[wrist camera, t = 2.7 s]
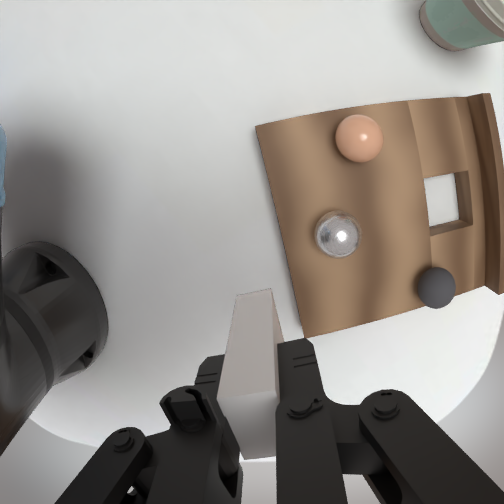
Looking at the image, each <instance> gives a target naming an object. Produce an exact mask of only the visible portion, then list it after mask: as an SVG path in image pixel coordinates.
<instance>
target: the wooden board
mask: <svg viewBox="0 0 504 504" xmlns="http://www.w3.org/2000/svg"><path fill="white" fill-rule="evenodd" d="M357 114H360V115H365V116H368V117H370V118H372V119H373V120H374V121H376V122H377V124H378V125H379V126H380V128H381V130H382V132H383V137H384V143H383V147H382V150H381V152H380V153H379V155H378V156H377V157H375V158H374V159H373V160H371V161H368V162H363V163H359V162H354V161H351V160H349V159H347V158H346V157H345V156H343V154H342V153H341V152H340V151H339V149H338V147H337V144H336V140H335V135H336V130H337V127H338V125H339V124H340V123H341V121H342V120H344V119H345V118H347V117H348V116H351V115H357ZM255 128H256V132H257V136H258V140H259V144H260V148H261V152H262V156H263V159H264V163H265V168H266V172H267V176H268V180H269V184H270V188H271V192H272V196H273V200H274V204H275V209H276V213H277V217H278V221H279V226H280V230H281V234H282V239H283V243H284V247H285V252H286V256H287V261H288V265H289V269H290V274H291V278H292V283H293V288H294V292H295V297H296V301H297V306H298V311H299V316H300V320H301V325H302V330H303V334H304V338H310V337H314V336H318V335H323V334H327V333H331V332H335V331H339V330H343V329H347V328H351V327H355V326H358V325H362V324H366V323H370V322H373V321H377V320H380V319H384V318H387V317H391V316H394V315H398V314H401V313H404V312H408V311H411V310H414V309H417V308H421V307H424V306H426V305H425V304H424V303H423V302H422V301H421V299H420V297H419V295H418V282H419V280H420V278H421V276H422V275H423V273H424V272H426V271H427V270H428V269H431V268H434V267H441V268H444V269H446V270H448V271H449V272H450V273H451V274H452V276H453V278H454V280H455V284H456V291H455V295H454V296H457V295H460V294H462V293H465V292H468V291H471V290H474V289H476V288H479V287H482V286H484V285H485V286H486V287H488V288H489V289H491V290H492V291H493V292H495V293H496V294H498V295H500V294H502V293H504V166H503V158H502V151H501V145H500V138H499V133H498V127H497V122H496V117H495V112H494V108H493V103H492V99H491V95H490V93H482V94H477V95H473V96H468V97H450V98H433V99H420V100H408V101H398V102H389V103H381V104H373V105H365V106H358V107H351V108H345V109H338V110H332V111H326V112H321V113H315V114H310V115H304V116H299V117H294V118H289V119H285V120H280V121H275V122H271V123H266V124H262V125H258V126H255ZM450 173H454V174H455V181H456V189H457V199H458V209H459V220H456V221H452V222H448V223H444V224H440V225H436V226H432V227H429V219H428V210H427V202H426V194H425V187H424V180H423V178H428V177H434V176H439V175H444V174H450ZM337 210H340V211H345V212H347V213H350V214H351V215H352V216H354V217H355V218H356V219H357V221H358V222H359V224H360V227H361V230H362V239H361V243H360V245H359V247H358V249H357V250H356V251H355V252H354V253H353V254H352V255H350V256H348V257H346V258H342V259H335V258H331V257H328V256H326V255H325V254H323V253H322V252H321V251H320V249H319V248H318V246H317V244H316V242H315V237H314V233H315V227H316V225H317V223H318V221H319V220H320V218H321V217H322V216H324V215H325V214H326V213H329V212H331V211H337Z"/></svg>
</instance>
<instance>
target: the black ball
mask: <svg viewBox="0 0 504 504" xmlns="http://www.w3.org/2000/svg"><path fill="white" fill-rule="evenodd" d="M455 291H456V284H455V280H454V278H453V276H452V274H451V273H450V272H449V271H448V270H446V269H444V268H441V267H434V268H431V269H428V270H427V271H426V272H424V273H423V275H422V276H421V278H420V280H419V282H418V295H419V297H420V299H421V301H422V302H423V303H424V304H425V305H426V306H428V307H430V308H434V309H438V308H442V307H444V306H446V305H448V304H449V303H450V302H451V300H452V299H453V297H454V295H455Z"/></svg>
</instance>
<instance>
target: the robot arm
mask: <svg viewBox="0 0 504 504" xmlns="http://www.w3.org/2000/svg"><path fill="white" fill-rule="evenodd" d="M6 149H7V140H6V134H5V131H4V129H3V127H2V126H1V124H0V456H1V455H2V454H3V452H4V451H5V449H6V448H7V446H8V445H9V443H10V442H11V441H12V439H13V438H14V437H15V435H16V434H17V432H18V431H19V430H20V428H21V427H22V425H23V424H24V423H25V421H26V420H27V419H28V417H29V416H30V415H31V413H32V412H33V411H34V409H35V408H36V407H37V405H38V404H39V403H40V402H41V400H42V399H43V398H44V396H45V395H46V394H47V392H48V391H49V390H50V389H51V388H52V386H54V385H56V384H58V383H60V382H62V381H64V380H66V379H68V378H70V377H72V376H74V375H76V374H78V373H80V372H82V371H84V370H85V369H87V368H88V367H89V366H90V365H91V364H92V363H93V362H94V361H95V359H96V358H97V357H98V355H99V354H100V353H101V351H102V349H103V348H104V345H105V342H106V339H107V332H108V322H107V315H106V310H105V306H104V303H103V300H102V298H101V295H100V293H99V291H98V289H97V287H96V285H95V283H94V282H93V280H92V278H91V277H90V275H89V274H88V273H87V271H86V270H85V269H84V268H83V267H82V265H81V264H80V263H79V262H78V261H77V260H76V259H75V258H73V257H72V256H71V255H70V254H69V253H67V252H66V251H64V250H63V249H61V248H59V247H57V246H55V245H52V244H49V243H45V242H31V243H28V244H25V245H23V246H21V247H19V248H16V249H14V250H13V251H11V252H10V253H8V254H7V255H6V256H5V257H4V258H3V259H2V257H1V232H2V207H3V206H4V204H5V197H6V196H5V190H4V188H3V185H4V170H5V158H6ZM159 404H160V406H161V408H162V409H163V411H164V413H165V415H166V417H167V418H168V420H169V422H170V424H171V426H170V429H169V430H167V431H164V432H161V433H157V434H154V435H150V436H146V437H145V435H144V434H143V433H142V431H141V430H139V429H137V428H135V427H126V428H122V429H119V430H117V431H115V432H113V433H112V434H111V435H110V436H109V437H108V438H107V439H106V440H105V441H104V442H103V444H102V445H101V446H100V447H99V449H98V450H97V451H96V452H95V454H94V455H93V456H92V458H91V459H90V460H89V461H88V462H87V464H86V465H85V466H84V467H83V469H82V470H81V471H80V472H79V474H78V475H77V476H76V478H75V479H74V480H73V481H72V482H71V484H70V485H69V486H68V487H67V489H66V490H65V491H64V493H63V494H62V495H61V496H60V498H59V499H58V500H57V501H56V502H55V504H241V497H242V483H243V471H242V467H241V465H240V463H239V454H240V452H241V454H242V456H243V458H244V460H247V459H257V458H265V457H273V456H276V477H277V478H276V479H277V504H348V502H347V496H346V491H345V486H344V481H343V475H342V474H359V475H361V474H362V475H363V477H364V478H365V480H366V481H367V483H368V485H369V486H370V488H371V489H372V491H373V492H374V494H375V495H376V497H377V499H378V500H379V502H380V503H381V504H504V492H503V491H502V490H501V489H500V488H499V487H498V486H497V485H496V484H495V483H494V482H493V481H492V479H491V478H490V477H489V476H488V475H487V474H486V473H484V472H483V470H482V469H481V468H480V467H479V466H478V465H477V464H476V463H475V462H474V461H473V460H472V459H471V458H470V457H469V456H468V455H467V454H466V453H465V452H464V451H463V450H462V449H461V448H460V447H459V446H458V445H457V444H456V443H455V442H454V441H453V440H452V439H451V438H450V437H449V436H448V435H447V434H446V433H445V432H444V431H443V430H442V429H441V428H440V427H439V426H438V425H437V424H436V423H435V422H434V421H433V420H432V419H431V418H430V417H429V416H428V415H427V414H426V413H425V412H424V411H423V410H422V409H421V408H420V407H419V406H418V405H417V404H416V403H415V402H414V401H413V400H412V399H411V398H410V397H409V396H408V395H406V394H405V393H403V392H402V391H398V390H393V389H389V390H380V391H377V392H374V393H372V394H370V395H369V396H367V397H366V398H365V399H364V400H363V401H362V403H361V404H360V405H342V404H338V403H335V402H333V401H332V400H330V399H329V398H328V397H327V396H326V395H325V392H324V389H323V385H322V381H321V376H320V372H319V368H318V363H317V359H316V355H315V351H314V346H313V344H312V343H311V342H310V341H308V340H307V339H306V338H302V339H297V340H293V341H288V342H284V339H283V335H282V331H281V327H280V323H279V319H278V314H277V310H276V306H275V302H274V298H273V294H272V290H271V288H270V289H265V290H261V291H256V292H251V293H247V294H242V295H237V297H236V302H235V307H234V312H233V317H232V322H231V327H230V332H229V338H228V343H227V348H226V353H225V354H223V355H217V356H211V357H207V358H206V359H205V360H204V362H203V363H202V364H201V365H200V366H199V370H198V373H197V377H196V380H195V385H194V386H183V387H179V388H176V389H174V390H172V391H170V392H169V393H168V394H166V395H165V396H164V397H163V398H162V400H161V401H160V403H159ZM131 486H132V487H133V488H134V489H133V491H132V492H131V493H127V492H128V490H129V488H130V487H131Z"/></svg>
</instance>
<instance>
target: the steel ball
mask: <svg viewBox="0 0 504 504" xmlns="http://www.w3.org/2000/svg"><path fill="white" fill-rule="evenodd" d="M314 237H315V242H316V244H317V246H318V248H319V249H320V251H321V252H322V253H323V254H325V255H326V256H328V257H331V258H335V259H342V258H346V257H348V256H350V255H352V254H353V253H354V252H355V251H356V250H357V249H358V247H359V245H360V243H361V239H362V230H361V227H360V224H359V222H358V221H357V219H356V218H355V217H354V216H352V215H351V214H350V213H347V212H345V211H340V210H337V211H331V212H329V213H326V214H325V215H324V216H322V217H321V218H320V220H319V221H318V223H317V225H316V227H315V233H314Z"/></svg>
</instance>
